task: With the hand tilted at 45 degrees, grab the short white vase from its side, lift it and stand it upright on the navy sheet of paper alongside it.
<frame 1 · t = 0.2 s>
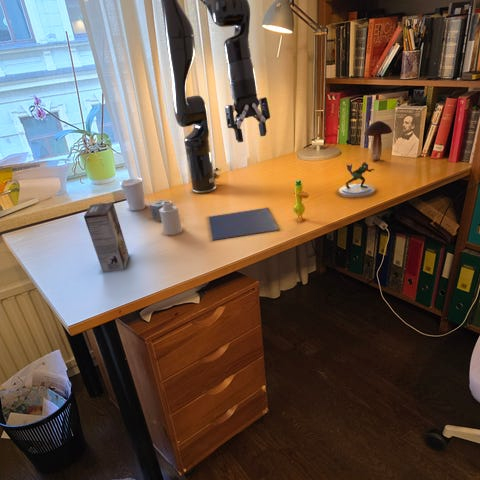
hand: (252, 139, 127), 22 cm above the table, tool pointing down, fingers open, 8 cm apart
toy figure: (301, 220, 127), on the table
monster figurine: (356, 192, 143), on the table
white vase: (173, 231, 132), on the table
dixie cup: (137, 208, 156), on the table
paper sheet: (241, 223, 131), on the table
dice cube: (162, 217, 144), on the table
decorative mushroom: (375, 160, 173), on the table
coffee box: (116, 264, 116), on the table
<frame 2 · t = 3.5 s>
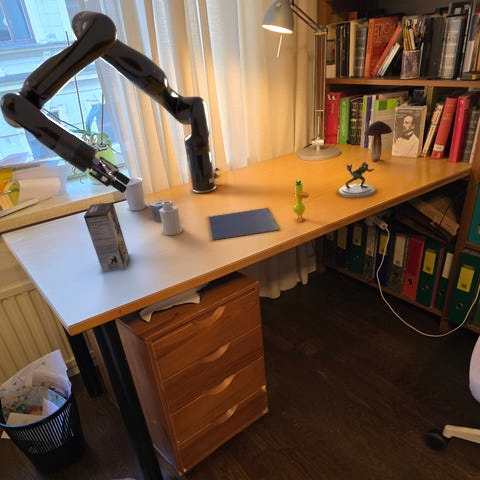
hand: (127, 186, 122), 16 cm above the table, tool tilted 45°, fingers open, 8 cm apart
nothing on the table moved.
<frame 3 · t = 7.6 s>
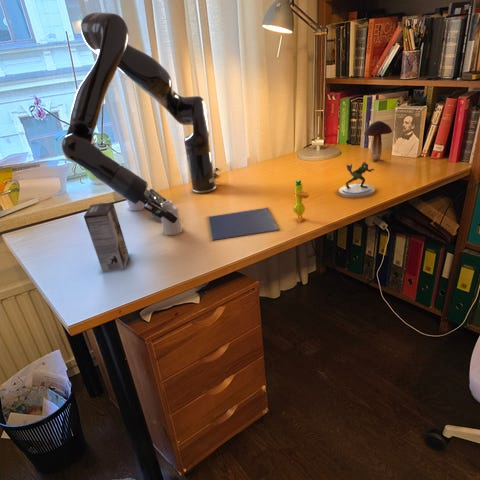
hand: (175, 217, 129), 5 cm above the table, tool tilted 45°, fingers closed on white vase, 5 cm apart
white vase: (173, 231, 132), on the table, touching gripper
everything else where it was.
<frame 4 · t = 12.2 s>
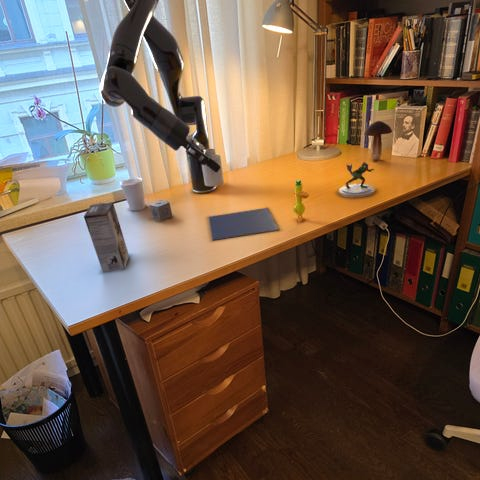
hand: (217, 166, 121), 18 cm above the table, tool tilted 45°, fingers closed on white vase, 5 cm apart
white vase: (214, 183, 124), point 13 cm above the table, touching gripper
everything else where it was.
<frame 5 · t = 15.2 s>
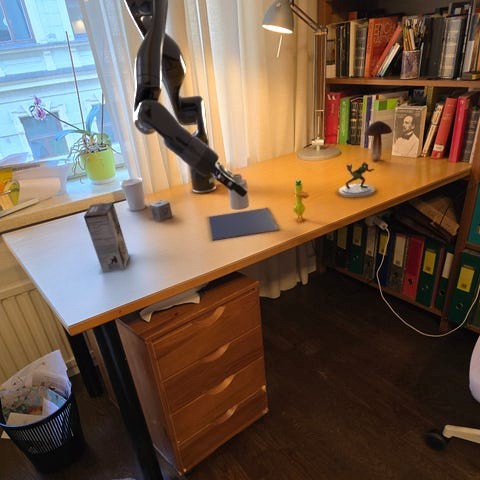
hand: (243, 191, 125), 10 cm above the table, tool tilted 45°, fingers closed on white vase, 5 cm apart
white vase: (239, 206, 128), point 6 cm above the table, touching gripper
everything else where it was.
when the fingers open (5 cm above the table, at t = 17.2 s): white vase stays where it is, resting on paper sheet.
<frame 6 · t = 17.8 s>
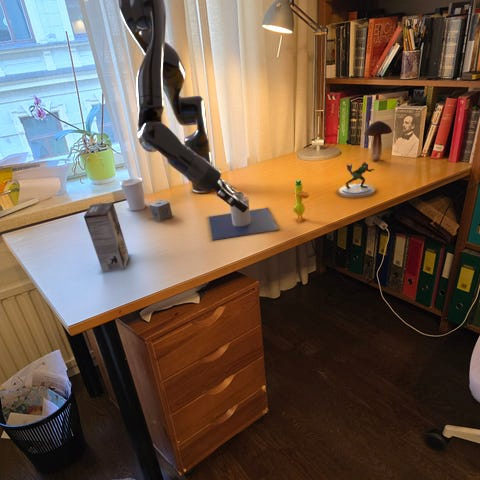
hand: (244, 205, 128), 6 cm above the table, tool tilted 45°, fingers open, 8 cm apart
white vase: (241, 222, 131), resting on paper sheet
everything else where it was.
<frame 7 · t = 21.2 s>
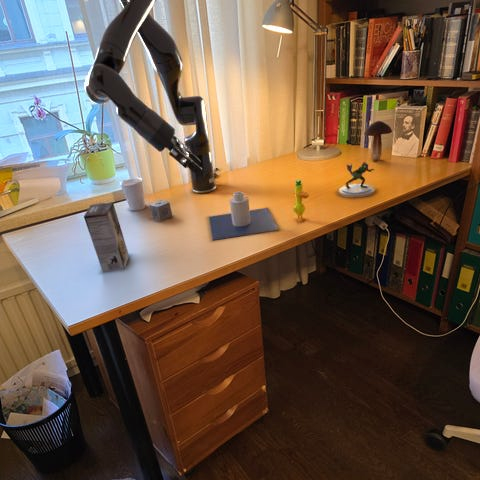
hand: (199, 168, 122), 18 cm above the table, tool tilted 40°, fingers open, 8 cm apart
nothing on the table moved.
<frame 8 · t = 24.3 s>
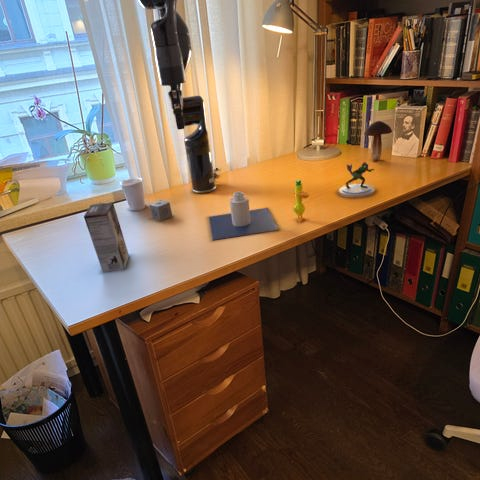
hand: (181, 126, 126), 28 cm above the table, tool pointing down, fingers open, 8 cm apart
nothing on the table moved.
at the end: white vase inside the target area on the paper sheet (0.1 cm from its centre), point 0.2 cm above the paper sheet's base; white vase tilted 0°; the gripper is holding nothing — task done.
